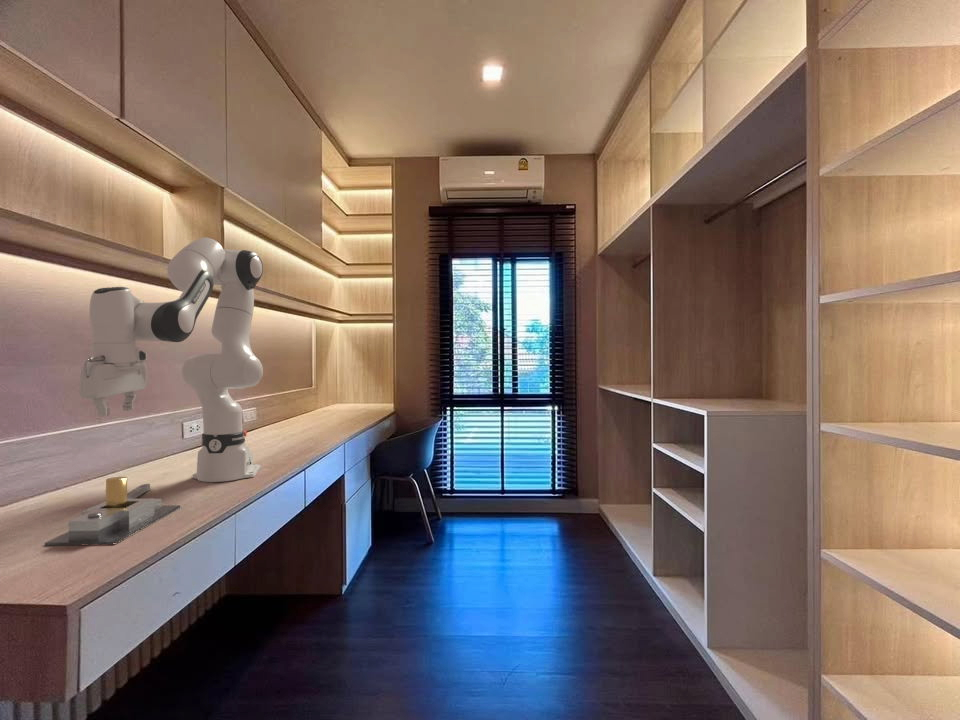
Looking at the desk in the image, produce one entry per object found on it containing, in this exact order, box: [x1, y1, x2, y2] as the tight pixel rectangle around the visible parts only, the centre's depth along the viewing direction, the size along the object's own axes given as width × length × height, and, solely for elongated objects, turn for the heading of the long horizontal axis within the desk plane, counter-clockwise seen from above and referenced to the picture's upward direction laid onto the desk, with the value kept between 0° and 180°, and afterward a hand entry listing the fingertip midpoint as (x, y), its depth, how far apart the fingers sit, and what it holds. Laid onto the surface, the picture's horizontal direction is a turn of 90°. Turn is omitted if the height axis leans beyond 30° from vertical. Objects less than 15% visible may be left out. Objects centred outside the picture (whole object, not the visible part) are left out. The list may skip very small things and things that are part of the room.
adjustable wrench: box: [127, 483, 151, 499], centre depth 142 cm, size 25×6×2 cm, turn 11°
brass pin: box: [105, 476, 128, 508], centre depth 122 cm, size 4×4×10 cm
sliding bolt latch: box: [44, 497, 181, 547], centre depth 123 cm, size 26×14×5 cm, turn 3°
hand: (116, 413), depth 127 cm, fingers open, 8 cm apart
